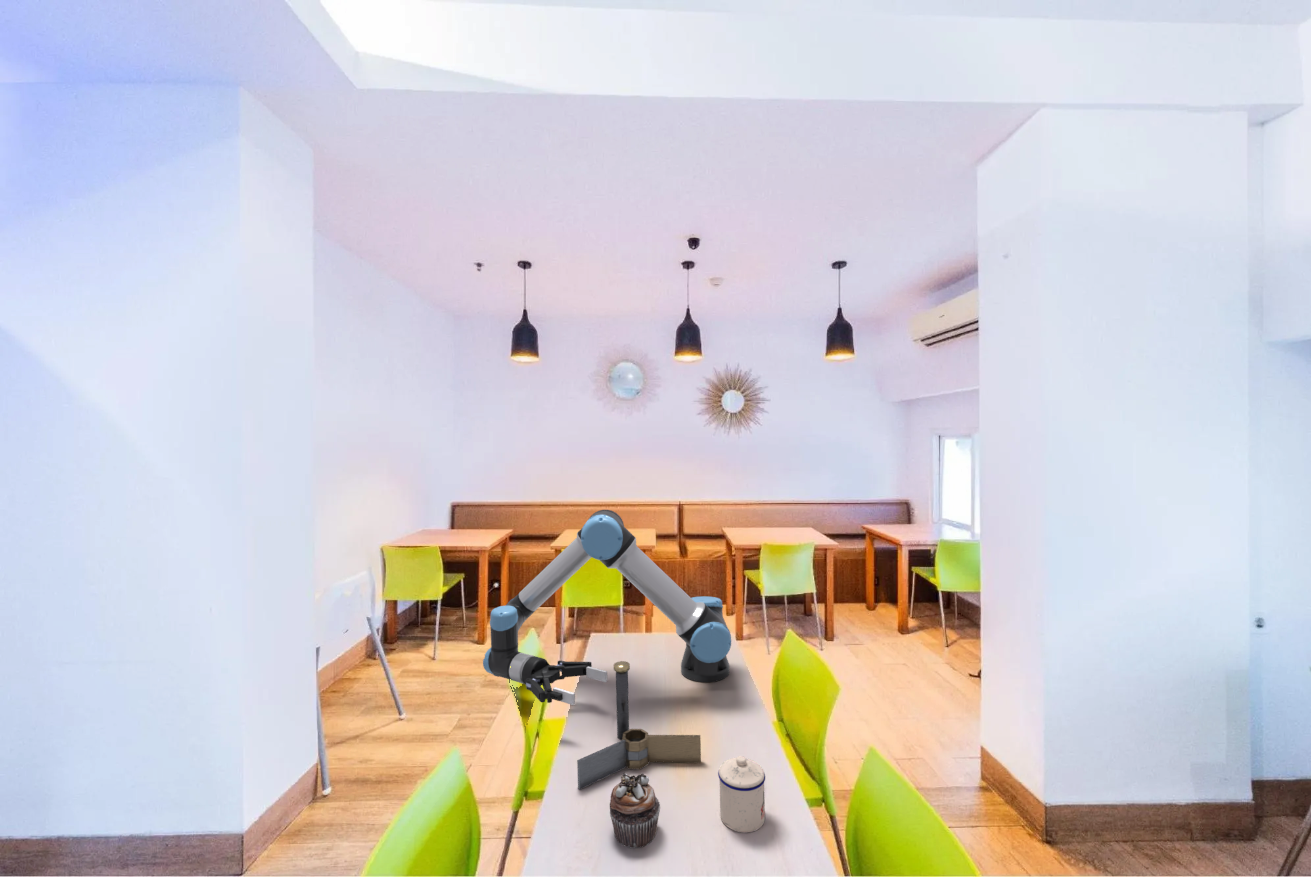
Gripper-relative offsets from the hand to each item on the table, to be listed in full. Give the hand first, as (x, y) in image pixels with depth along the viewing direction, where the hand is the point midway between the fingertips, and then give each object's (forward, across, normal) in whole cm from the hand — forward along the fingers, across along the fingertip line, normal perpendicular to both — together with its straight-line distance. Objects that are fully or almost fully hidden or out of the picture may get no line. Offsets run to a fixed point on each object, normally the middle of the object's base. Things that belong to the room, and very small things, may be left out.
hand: (591, 687), depth 138 cm
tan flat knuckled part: (+23, +4, -10) cm, 26 cm away
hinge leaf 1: (+16, +12, -10) cm, 22 cm away
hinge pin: (+10, 0, -10) cm, 14 cm away
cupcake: (+30, +25, -10) cm, 40 cm away
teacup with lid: (+45, +11, -10) cm, 47 cm away
